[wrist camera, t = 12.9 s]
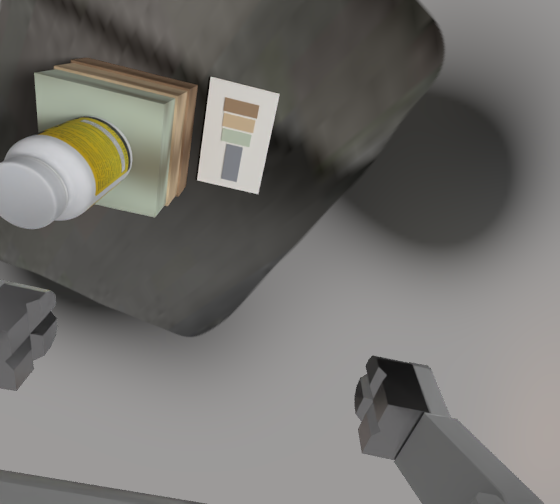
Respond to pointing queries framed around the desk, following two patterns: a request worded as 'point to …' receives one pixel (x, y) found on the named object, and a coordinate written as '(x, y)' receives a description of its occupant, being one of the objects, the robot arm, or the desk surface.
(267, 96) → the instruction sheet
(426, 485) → the robot arm
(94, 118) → the supplement bottle
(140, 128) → the brick tower
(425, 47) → the desk surface
